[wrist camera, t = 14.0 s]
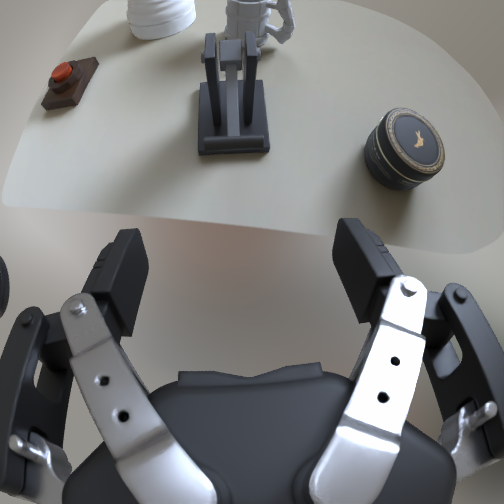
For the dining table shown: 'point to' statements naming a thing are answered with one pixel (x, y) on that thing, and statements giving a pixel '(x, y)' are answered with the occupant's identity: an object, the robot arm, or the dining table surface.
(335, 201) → the dining table surface
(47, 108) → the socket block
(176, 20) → the honey pot
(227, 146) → the switch lever
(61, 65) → the button
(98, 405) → the robot arm
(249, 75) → the dark stand
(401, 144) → the jar
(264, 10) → the mug
